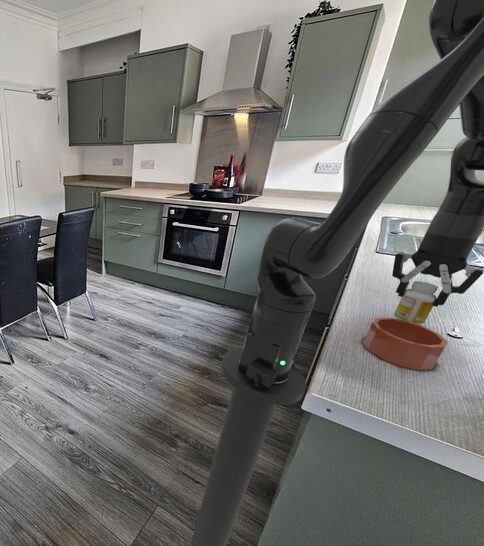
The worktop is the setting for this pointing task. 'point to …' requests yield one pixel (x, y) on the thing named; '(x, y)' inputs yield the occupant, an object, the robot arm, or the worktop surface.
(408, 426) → the worktop surface
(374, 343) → the pot
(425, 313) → the supplement bottle
